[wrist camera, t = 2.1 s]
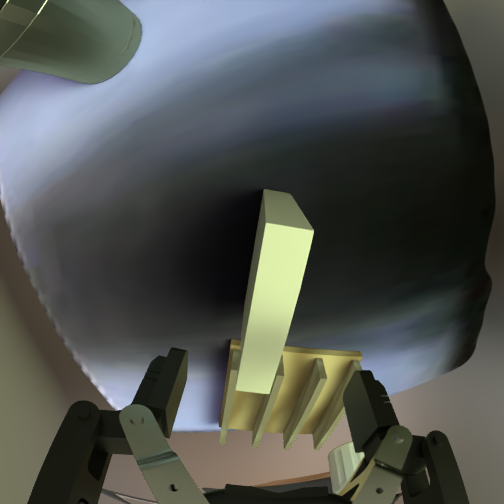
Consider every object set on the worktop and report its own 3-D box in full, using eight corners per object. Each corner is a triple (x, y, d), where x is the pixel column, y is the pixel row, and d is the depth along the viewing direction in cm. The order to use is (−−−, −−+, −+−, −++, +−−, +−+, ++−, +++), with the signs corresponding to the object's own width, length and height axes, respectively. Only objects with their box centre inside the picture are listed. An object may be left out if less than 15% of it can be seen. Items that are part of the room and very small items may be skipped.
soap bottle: (318, 455, 41) (329, 561, 18) (355, 435, 39) (379, 549, 16) (345, 462, 43) (359, 555, 20) (379, 443, 40) (404, 541, 17)
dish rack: (219, 421, 37) (216, 444, 33) (231, 339, 30) (227, 365, 26) (317, 429, 37) (320, 450, 33) (360, 351, 31) (370, 376, 27)
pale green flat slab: (244, 303, 29) (235, 390, 18) (263, 189, 25) (265, 222, 13) (267, 306, 29) (269, 394, 18) (289, 193, 25) (313, 230, 13)
